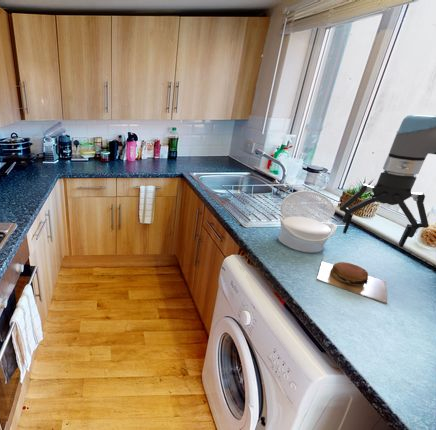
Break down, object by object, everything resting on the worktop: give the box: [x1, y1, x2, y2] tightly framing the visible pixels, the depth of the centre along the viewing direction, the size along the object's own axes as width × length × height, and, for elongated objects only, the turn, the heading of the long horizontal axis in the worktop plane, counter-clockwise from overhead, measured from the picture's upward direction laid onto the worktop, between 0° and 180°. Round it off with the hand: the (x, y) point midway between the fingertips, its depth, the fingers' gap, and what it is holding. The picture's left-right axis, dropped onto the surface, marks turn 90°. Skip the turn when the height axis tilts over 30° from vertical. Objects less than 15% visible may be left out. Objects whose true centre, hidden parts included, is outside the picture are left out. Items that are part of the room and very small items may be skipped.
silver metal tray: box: [316, 260, 388, 305], centre depth 96 cm, size 18×14×1 cm
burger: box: [330, 261, 369, 285], centre depth 95 cm, size 10×9×5 cm
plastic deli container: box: [277, 190, 338, 253], centre depth 116 cm, size 20×20×20 cm
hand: (371, 238), depth 90 cm, fingers open, 13 cm apart
